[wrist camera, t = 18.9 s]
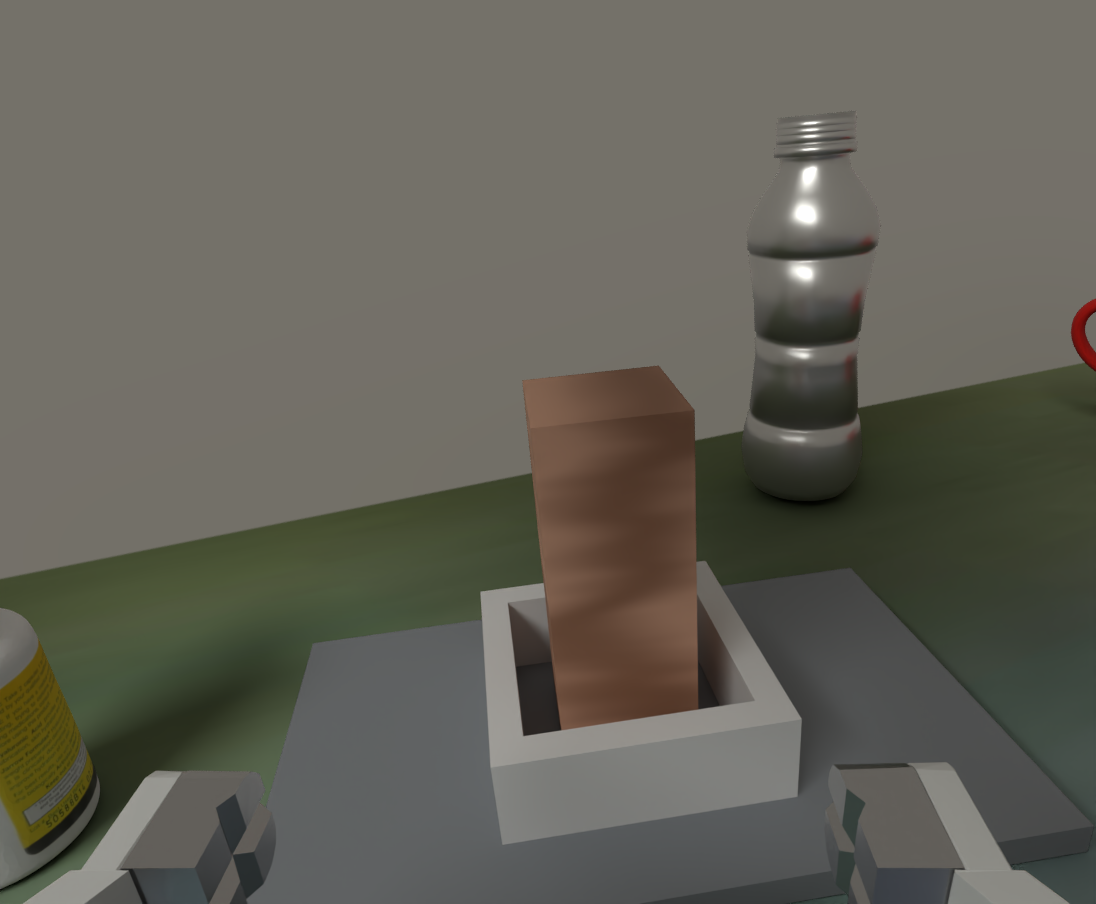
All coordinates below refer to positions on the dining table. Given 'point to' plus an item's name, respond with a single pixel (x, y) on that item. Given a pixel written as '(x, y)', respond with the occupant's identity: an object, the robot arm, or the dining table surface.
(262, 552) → the dining table surface
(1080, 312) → the ceramic cup
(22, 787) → the supplement bottle
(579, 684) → the terracotta peg
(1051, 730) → the dining table surface
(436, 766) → the collar board
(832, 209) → the plastic bottle
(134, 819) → the robot arm
